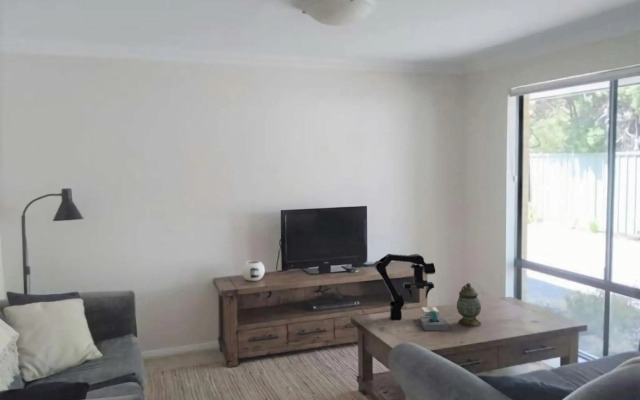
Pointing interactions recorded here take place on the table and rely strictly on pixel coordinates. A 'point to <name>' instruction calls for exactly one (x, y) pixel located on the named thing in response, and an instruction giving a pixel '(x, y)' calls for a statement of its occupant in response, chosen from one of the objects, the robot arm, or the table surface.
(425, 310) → the sliding lid
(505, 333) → the table surface
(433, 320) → the teal peg
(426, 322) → the socket block
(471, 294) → the lidded ginger jar
